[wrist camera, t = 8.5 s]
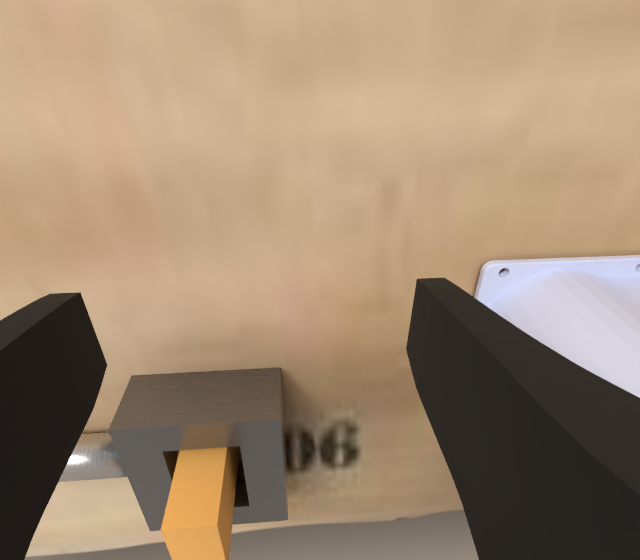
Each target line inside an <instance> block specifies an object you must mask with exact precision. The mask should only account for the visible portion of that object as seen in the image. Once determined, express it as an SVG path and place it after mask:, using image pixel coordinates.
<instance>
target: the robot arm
mask: <svg viewBox="0 0 640 560" xmlns="http://www.w3.org/2000/svg"><path fill="white" fill-rule="evenodd" d="M637 265H638V266H637ZM503 268H505V270H504V271H503V272H502V273H499V271H500V270H501V269H503ZM406 349H407V354H408V358H409V362H410V366H411V370H412V373H413V377H414V381H415V384H416V388H417V391H418V393H419V396H420V398H421V401H422V403H423V406H424V408H425V411H426V413H427V416H428V418H429V421H430V423H431V426H432V428H433V431H434V433H435V436H436V438H437V440H438V443H439V445H440V448H441V450H442V453H443V455H444V458H445V460H446V462H447V465H448V467H449V470H450V472H451V475H452V477H453V480H454V482H455V485H456V488H457V490H458V493H459V496H460V499H461V501H462V504H463V507H464V511H465V514H466V517H467V520H468V524H469V527H470V531H471V534H472V537H473V540H474V544H475V547H476V551H477V554H478V557H479V560H640V255H627V256H600V257H574V258H547V259H521V260H494V261H489V262H487V263H485V264H484V265H483V266H482V268H481V271H480V275H479V279H478V283H477V287H476V291H475V295H474V297H473V296H471V295H470V294H468V293H467V292H465V291H464V290H463V289H461V288H460V287H458V286H457V285H455V284H454V283H452V282H450V281H449V280H447V279H445V278H425V279H417V282H416V289H415V296H414V302H413V309H412V315H411V322H410V329H409V335H408V342H407V348H406ZM106 367H107V363H106V361H105V358H104V355H103V352H102V350H101V347H100V344H99V342H98V339H97V336H96V334H95V331H94V328H93V325H92V323H91V320H90V317H89V315H88V312H87V309H86V307H85V304H84V301H83V298H82V296H81V293H59V294H49V295H47V296H45V297H42V298H40V299H38V300H36V301H34V302H32V303H31V304H29V305H27V306H25V307H23V308H21V309H20V310H18V311H16V312H14V313H13V314H11V315H9V316H7V317H6V318H4V319H2V320H1V321H0V560H24V559H25V556H26V553H27V550H28V548H29V545H30V542H31V540H32V537H33V535H34V533H35V530H36V528H37V526H38V524H39V521H40V519H41V517H42V514H43V512H44V510H45V508H46V506H47V504H48V502H49V500H50V498H51V496H52V494H53V492H54V490H55V488H56V485H57V483H58V481H59V479H60V477H61V475H62V473H63V471H64V469H65V467H66V465H67V463H68V461H69V459H70V457H71V455H72V453H73V451H74V448H75V446H76V444H77V442H78V440H79V438H80V436H81V434H82V432H83V430H84V427H85V425H86V423H87V421H88V419H89V417H90V415H91V412H92V410H93V408H94V405H95V402H96V399H97V396H98V393H99V391H100V387H101V384H102V381H103V377H104V374H105V370H106Z"/></svg>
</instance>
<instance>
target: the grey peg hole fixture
mask: <svg viewBox="0 0 640 560" xmlns="http://www.w3.org/2000/svg"><path fill="white" fill-rule="evenodd" d="M236 446H240V449H241V453H239V459H238V469H237V479H236V489H235V500H234V510H233V520H232V524H245V523H257V522H270V521H282V520H288V508H287V459H286V444H285V429H284V413H283V398H282V383H281V368H269V369H250V370H232V371H214V372H195V373H177V374H159V375H140V376H131V379H130V381H129V383H128V386H127V388H126V390H125V393H124V395H123V397H122V400H121V402H120V405H119V407H118V409H117V412H116V414H115V416H114V419H113V421H112V423H111V426H110V428H109V432H107V433H92V434H81V436H80V438H79V440H78V442H77V444H76V446H75V448H74V451H73V453H72V455H71V457H70V459H69V461H68V463H67V465H66V467H65V469H64V471H63V473H62V475H61V477H60V479H59V481H58V482H63V481H77V480H91V479H105V478H120V477H128V479H129V481H130V483H131V486H132V488H133V491H134V493H135V495H136V498H137V500H138V503H139V505H140V508H141V510H142V512H143V515H144V517H145V520H146V522H147V524H148V527H149V529H150V531H157V530H161V526H162V522H163V518H164V514H165V510H166V505H167V501H168V497H169V493H170V488H171V484H172V480H173V476H174V472H175V467H176V463H177V459H178V455H179V451H180V450H192V449H207V448H222V447H236Z"/></svg>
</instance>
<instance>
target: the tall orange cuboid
mask: <svg viewBox="0 0 640 560" xmlns="http://www.w3.org/2000/svg"><path fill="white" fill-rule="evenodd" d="M239 449H240V446H236V447H222V448H207V449H192V450H180V451H179V455H178V459H177V463H176V467H175V472H174V476H173V480H172V484H171V488H170V493H169V497H168V501H167V505H166V510H165V514H164V518H163V522H162V526H161V532H162V535H163V537H164V540H165V542H166V545H167V548H168V550H169V553H170V555H171V558H172V560H229V551H230V540H231V530H232V520H233V510H234V500H235V489H236V479H237V469H238V459H239Z"/></svg>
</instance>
